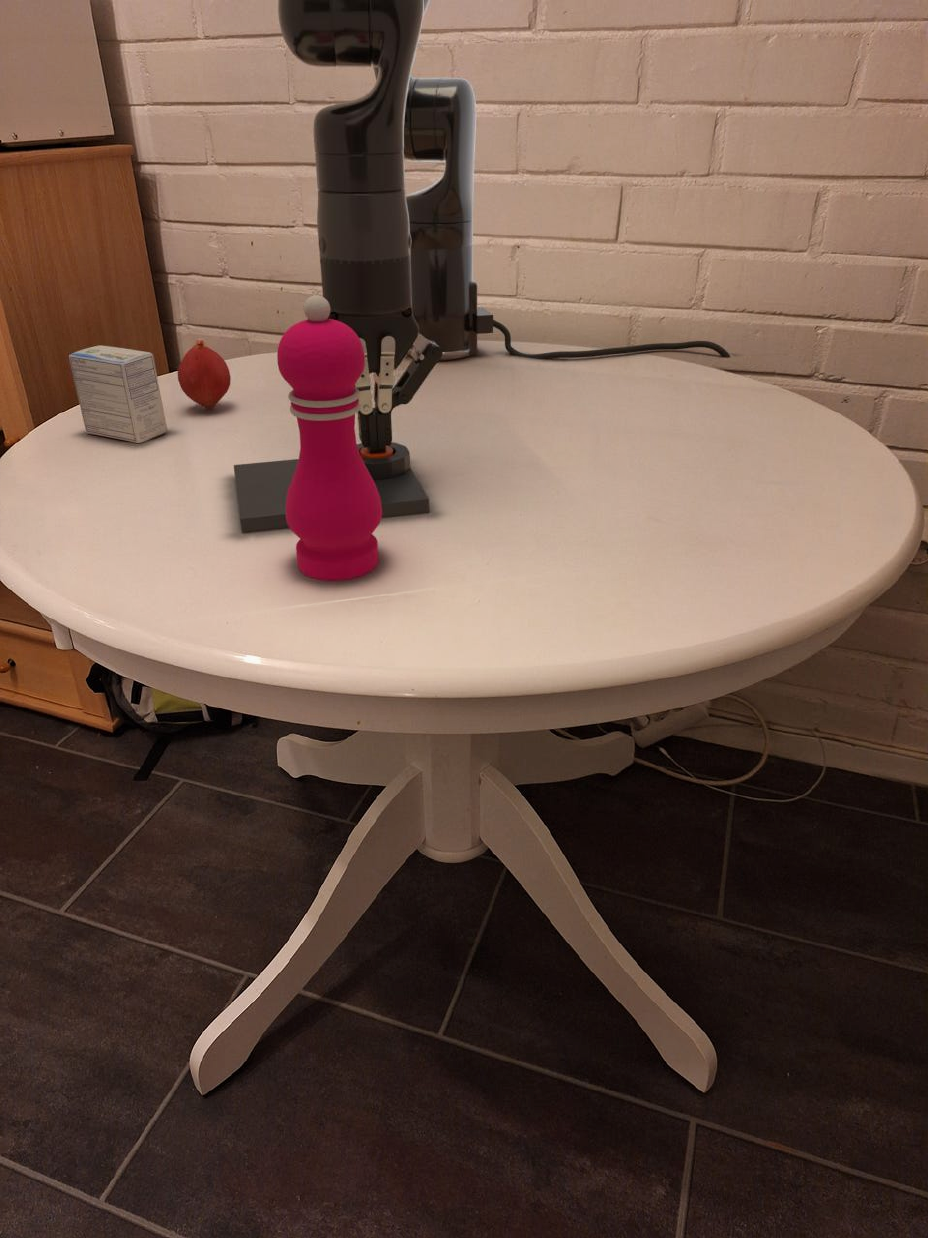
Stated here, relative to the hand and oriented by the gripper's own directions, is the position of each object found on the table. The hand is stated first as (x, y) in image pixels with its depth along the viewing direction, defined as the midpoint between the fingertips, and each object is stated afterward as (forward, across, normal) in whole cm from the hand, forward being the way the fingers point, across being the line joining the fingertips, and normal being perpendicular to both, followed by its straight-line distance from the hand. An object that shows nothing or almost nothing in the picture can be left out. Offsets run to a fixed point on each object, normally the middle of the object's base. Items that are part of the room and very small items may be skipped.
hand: (375, 450), depth 84 cm
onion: (+3, +15, -28) cm, 32 cm away
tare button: (+2, 0, 0) cm, 2 cm away
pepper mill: (+3, +6, +16) cm, 17 cm away
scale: (+3, +5, +2) cm, 6 cm away
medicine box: (+3, +24, -21) cm, 32 cm away
